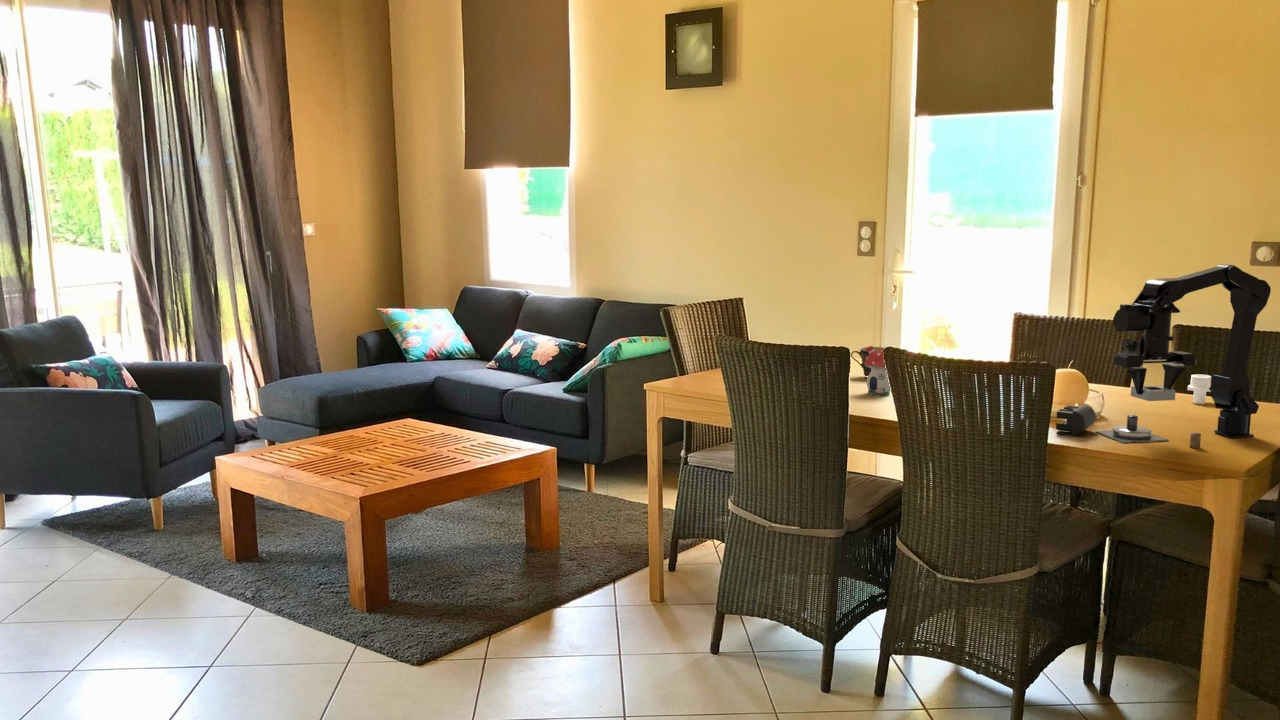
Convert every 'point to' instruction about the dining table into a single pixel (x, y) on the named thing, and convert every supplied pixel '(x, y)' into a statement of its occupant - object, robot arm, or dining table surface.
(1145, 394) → the grey square base
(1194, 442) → the stand post
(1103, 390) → the dining table surface
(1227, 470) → the dining table surface
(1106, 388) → the dining table surface
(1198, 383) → the pipe fitting
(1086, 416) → the end cap
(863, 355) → the ceramic cup
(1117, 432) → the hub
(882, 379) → the decorative ornament
